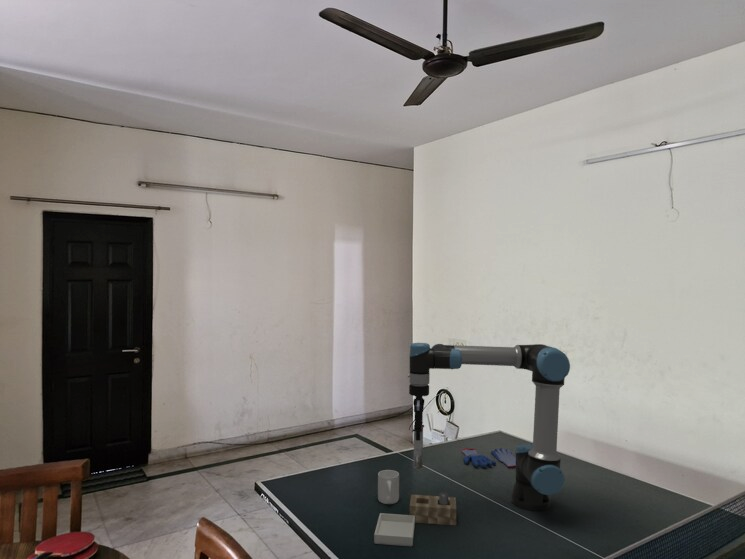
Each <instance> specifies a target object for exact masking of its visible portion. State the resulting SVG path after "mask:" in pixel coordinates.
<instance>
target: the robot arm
mask: <svg viewBox="0 0 745 559" xmlns="http://www.w3.org/2000/svg"><path fill="white" fill-rule="evenodd" d="M409 348H410V349H409V374H408V375H407V378H409V379H408V380H409V382H408V383H409V385H408V386H409V387H408V394H409V395H410V396H414V397H415V398H413V401H412V402H413V412H414V425H415V428H414V427H413V429H412V432H414V431H415V434H414V433H413V450H414V449H422V429H421V428H422V425H423V428H424V427H425V425H424V424H423V423H424V422H423V421H424V420H423V418H424V417H423V415H424V414H423V413H424V409H425V408H424V407H425V398H423V397H427V396H429V394H430V385H429V384H430V375H431V374H430V370H434V369H435V370H436V369H437V370H459V369H460V368H462V365H472V366H473V365H475V366H502V367H505V366H506V367H508V366H509V367H515V369H516V370H517V369H518V370H527V371H530V372H531V373H532V374H531V382H532V383H533V385H535V394H534V396H535V397H534V416H533V433H532V434H533V437H532V443H521V444H517V446H515V456H516V468H515V482H514V485H513V488H512V491H511V495H510V498H511V499H510V501H511V503H512V504H513V505H515V507H516V506H517V507H518V508H521V509H523V510H528V511H535V512H536V511H546V510H547V509H549V508H550V507H551V498H550V496H551V495H552V496H553V495H554V494H557V493H558V492H559V491H561V490H562V488H563V486H564V484H565V475H564V472H563V471H562V470H563V469H561V459H562V458H561V455H560V454H559V453H558V451H557V449H558V446H557V445H558V429H559V428H558V427H559V407H560V390H561V388H562V387H563V386H564V385H565V378H566V377H567V376H568V375H569V373H570V370H571V364H570V360H569V357H568V356H567V355H566V354H565V353H564V351H562V350H561V349H558V348H557V347H553V346H549V345H547V344H543V343H542V344H539V343H537V344H535V343H534V344H516V345H515V346H512V347H511V346H490V345H489V346H485V345H484V346H483V345H458V344H457V345H456V344H455V345H453V344H443V343H436V344H434V345H432V346H431V345H430V344H429V343H428V342H427V343H426V342H413V343H411V344H410V346H409Z"/></svg>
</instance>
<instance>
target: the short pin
mask: <svg viewBox="0 0 745 559" xmlns="http://www.w3.org/2000/svg"><path fill="white" fill-rule="evenodd" d="M438 496H439V505H448V497H449V493H447V492H439V495H438Z"/></svg>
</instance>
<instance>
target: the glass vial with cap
mask: <svg viewBox="0 0 745 559" xmlns="http://www.w3.org/2000/svg"><path fill="white" fill-rule="evenodd" d="M423 425H424V424H422V428H421V429H422V449H414V448H413V464H412V465H413V468H414V469H422V468H423V462H424V460H423V458H424V451H423V450H424V427H423ZM414 428H415V424H414V425H413V429H414ZM414 434H415V431H413V435H414Z"/></svg>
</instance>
